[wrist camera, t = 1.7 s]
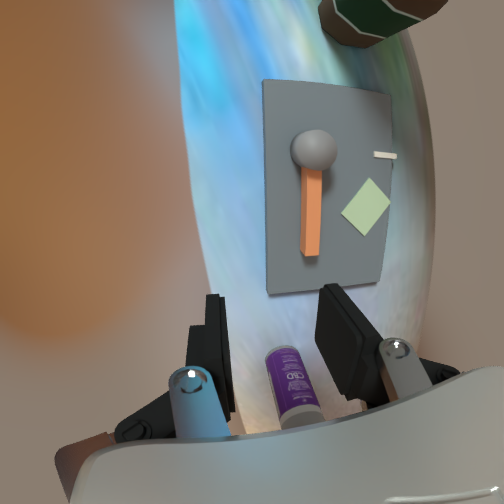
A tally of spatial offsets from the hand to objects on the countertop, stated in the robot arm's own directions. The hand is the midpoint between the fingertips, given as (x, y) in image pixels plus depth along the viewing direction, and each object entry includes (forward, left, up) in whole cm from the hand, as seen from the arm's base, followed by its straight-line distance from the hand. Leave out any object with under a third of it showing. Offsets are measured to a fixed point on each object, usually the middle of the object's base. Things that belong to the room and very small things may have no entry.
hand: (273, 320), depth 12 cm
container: (+19, +5, -18) cm, 26 cm away
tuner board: (-3, +10, -17) cm, 20 cm away
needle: (-3, +7, -16) cm, 17 cm away
